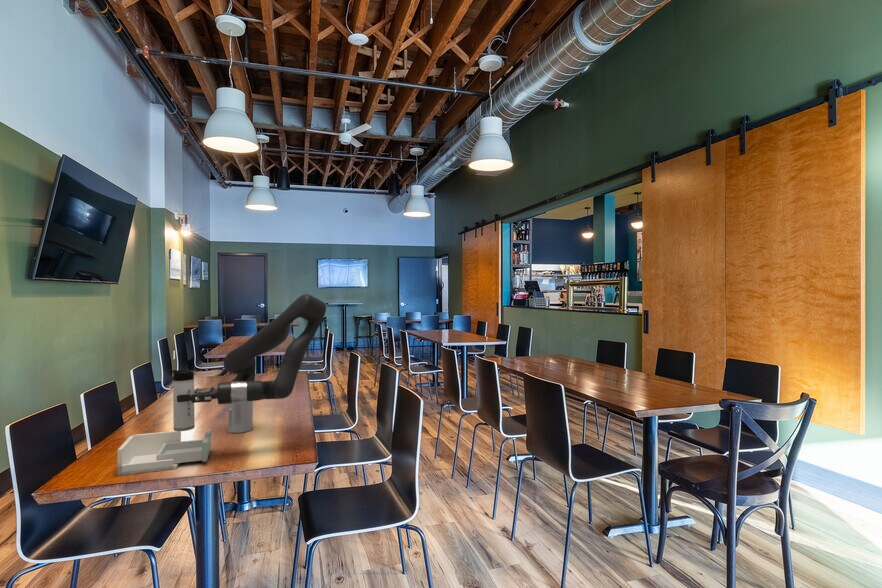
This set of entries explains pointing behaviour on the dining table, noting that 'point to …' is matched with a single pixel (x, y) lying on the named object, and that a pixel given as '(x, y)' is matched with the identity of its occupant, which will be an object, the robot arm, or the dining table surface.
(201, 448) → the tray
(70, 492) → the dining table surface
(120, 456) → the dock
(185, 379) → the travel mug
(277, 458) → the dining table surface
